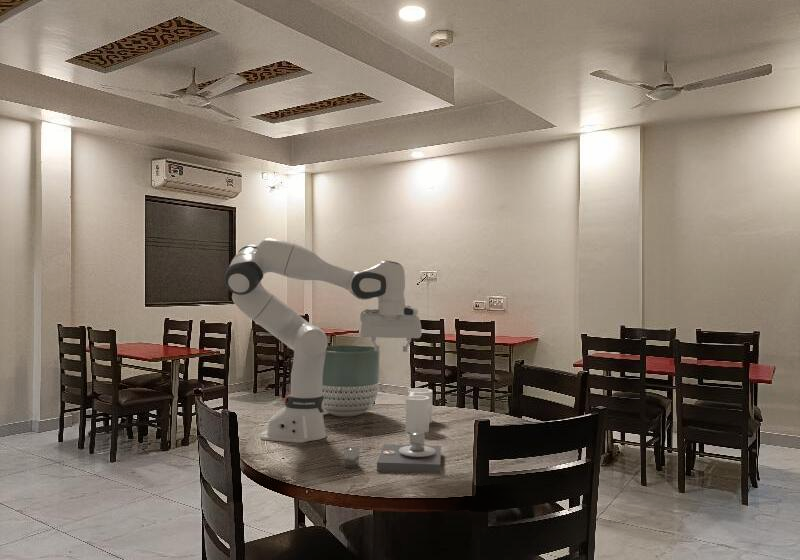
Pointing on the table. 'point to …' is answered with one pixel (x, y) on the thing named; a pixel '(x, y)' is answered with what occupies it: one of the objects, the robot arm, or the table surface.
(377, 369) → the planter
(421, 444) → the cylinder
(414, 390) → the c-shaped pipe clip
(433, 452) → the scale
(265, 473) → the table surface
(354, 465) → the spacer
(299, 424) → the robot arm
